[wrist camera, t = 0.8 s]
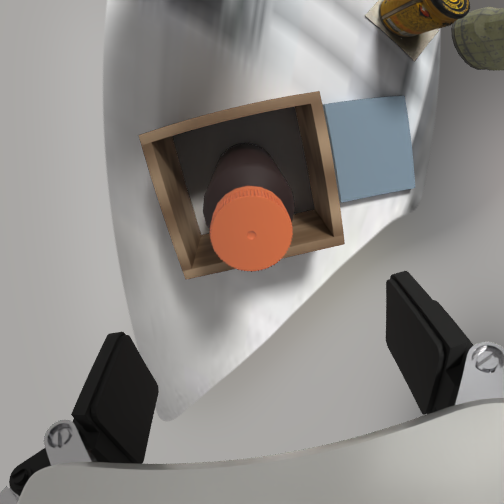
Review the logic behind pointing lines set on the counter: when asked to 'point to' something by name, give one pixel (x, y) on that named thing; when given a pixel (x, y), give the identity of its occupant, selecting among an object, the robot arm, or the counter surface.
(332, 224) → the crate
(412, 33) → the condiment
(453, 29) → the thermos
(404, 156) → the mat
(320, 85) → the counter surface
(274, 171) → the vinegar
